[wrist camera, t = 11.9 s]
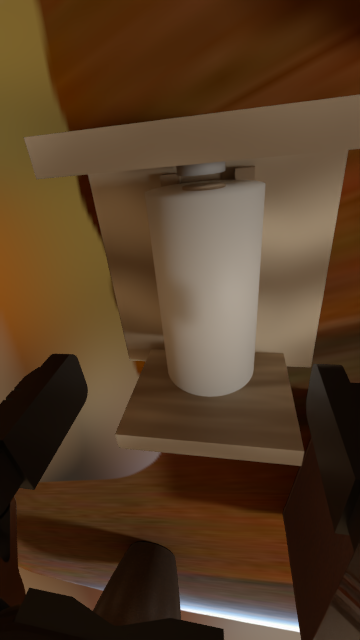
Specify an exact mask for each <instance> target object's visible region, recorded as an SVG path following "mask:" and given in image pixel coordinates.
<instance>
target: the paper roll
mask: <svg viewBox="0 0 360 640" xmlns="http://www.w3.org/2000/svg"><path fill="white" fill-rule="evenodd" d="M145 200H146V207H147V215H148V222H149V230H150V238H151V245H152V253H153V260H154V268H155V276H156V283H157V291H158V299H159V306H160V314H161V321H162V329H163V337H164V344H165V352H166V360H167V367H168V374H169V377H170V378H171V380H172V381H173V383H174V384H175V385H176V386H177V387H179V388H180V389H182V390H184V391H186V392H188V393H191V394H194V395H198V396H207V397H215V396H223V395H227V394H230V393H233V392H235V391H237V390H239V389H241V388H242V387H244V386H245V385H246V384H247V383H248V382H249V381H250V379H251V377H252V375H253V371H254V357H255V341H256V325H257V310H258V294H259V278H260V263H261V247H262V231H263V216H264V200H265V183H264V182H261V181H254V180H213V181H199V182H190V183H181V184H174V185H168V186H163V187H158V188H155V189H151V190H149V191H147V192H145Z"/></svg>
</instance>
